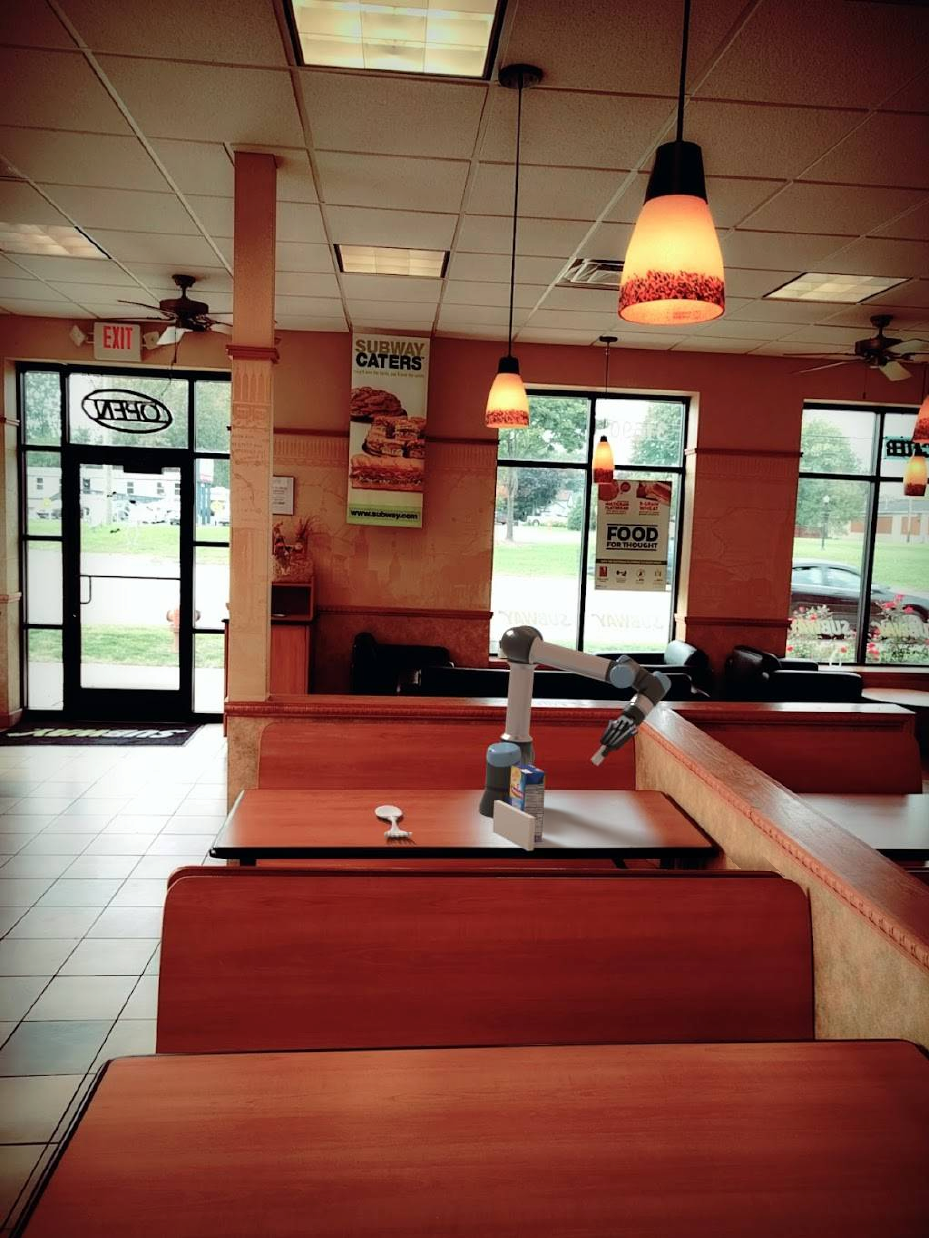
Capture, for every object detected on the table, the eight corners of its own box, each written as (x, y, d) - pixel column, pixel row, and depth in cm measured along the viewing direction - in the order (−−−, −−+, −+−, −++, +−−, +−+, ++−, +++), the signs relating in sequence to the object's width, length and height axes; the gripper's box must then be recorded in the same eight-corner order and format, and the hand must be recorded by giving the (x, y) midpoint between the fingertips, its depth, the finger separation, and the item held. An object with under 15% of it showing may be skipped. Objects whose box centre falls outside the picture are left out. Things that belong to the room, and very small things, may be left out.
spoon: (383, 843, 252) (383, 832, 252) (373, 812, 284) (373, 802, 284) (412, 843, 254) (413, 832, 254) (399, 812, 286) (400, 802, 285)
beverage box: (521, 843, 259) (525, 773, 258) (507, 832, 269) (511, 765, 268) (541, 841, 261) (545, 772, 260) (526, 831, 271) (530, 764, 270)
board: (492, 831, 269) (494, 800, 269) (497, 830, 270) (499, 800, 270) (527, 850, 252) (529, 818, 252) (533, 849, 253) (535, 817, 253)
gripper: (655, 721, 277) (612, 774, 270) (629, 714, 288) (587, 765, 281) (644, 706, 274) (601, 759, 267) (618, 699, 285) (576, 750, 278)
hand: (594, 762), depth 274 cm, fingers closed
